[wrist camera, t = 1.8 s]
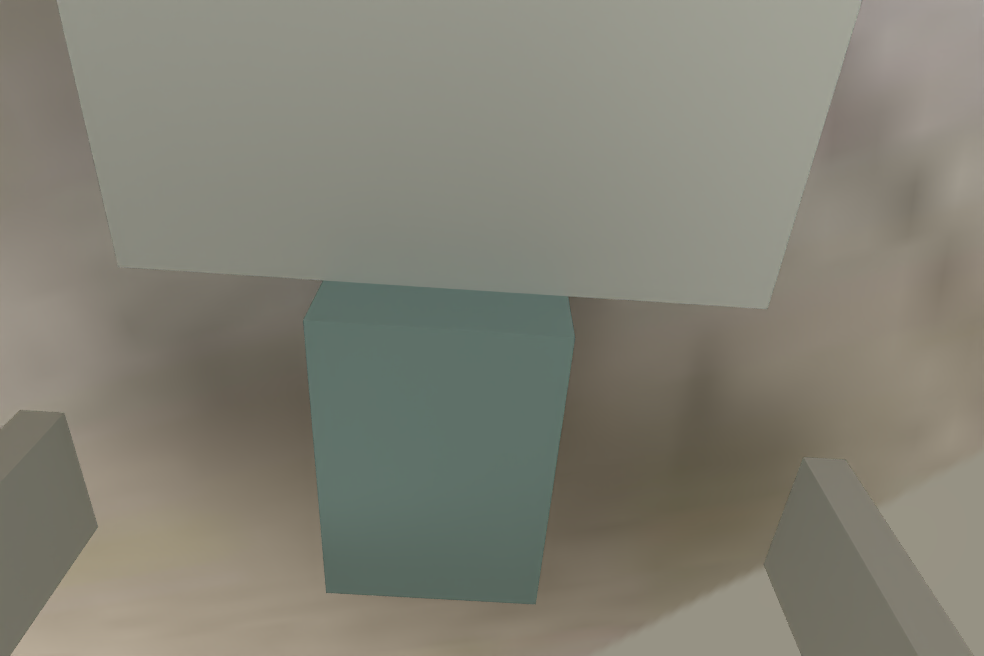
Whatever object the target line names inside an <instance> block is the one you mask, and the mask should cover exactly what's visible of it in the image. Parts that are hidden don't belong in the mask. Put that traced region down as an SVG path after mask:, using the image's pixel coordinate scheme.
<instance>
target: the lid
mask: <svg viewBox="0 0 984 656" xmlns="http://www.w3.org/2000/svg"><path fill="white" fill-rule="evenodd" d="M56 1H57V5H58V10H59V14H60V18H61V23H62V27H63V31H64V35H65V40H66V44H67V48H68V53H69V57H70V61H71V66H72V70H73V74H74V79H75V83H76V87H77V92H78V96H79V100H80V105H81V109H82V113H83V118H84V122H85V126H86V130H87V135H88V139H89V143H90V148H91V152H92V156H93V161H94V165H95V169H96V174H97V178H98V182H99V187H100V191H101V195H102V200H103V204H104V208H105V213H106V217H107V221H108V226H109V230H110V234H111V238H112V243H113V247H114V251H115V256H116V260H117V264H118V267H122V268H138V269H153V270H169V271H184V272H200V273H215V274H231V275H246V276H261V277H277V278H292V279H308V280H323V282H322V284H321V286H320V288H319V290H318V292H317V294H316V296H315V298H314V300H313V302H312V304H311V306H310V308H309V310H308V312H307V314H306V316H305V318H304V320H303V325H304V337H305V348H306V360H307V372H308V384H309V395H310V407H311V419H312V431H313V443H314V454H315V466H316V478H317V490H318V502H319V513H320V525H321V537H322V549H323V560H324V572H325V584H326V593H340V594H358V595H376V596H394V597H412V598H430V599H448V600H466V601H484V602H502V603H520V604H536V598H537V591H538V585H539V578H540V571H541V564H542V558H543V551H544V544H545V537H546V531H547V524H548V517H549V510H550V504H551V497H552V490H553V484H554V477H555V470H556V463H557V457H558V450H559V443H560V436H561V430H562V423H563V416H564V409H565V403H566V396H567V389H568V382H569V376H570V369H571V362H572V355H573V349H574V342H575V334H574V328H573V322H572V316H571V311H570V305H569V299H568V296H570V297H586V298H601V299H617V300H632V301H648V302H663V303H679V304H694V305H709V306H725V307H740V308H756V309H768V306H769V303H770V299H771V296H772V293H773V290H774V286H775V283H776V280H777V277H778V273H779V270H780V267H781V264H782V260H783V257H784V254H785V251H786V247H787V244H788V241H789V237H790V234H791V231H792V228H793V224H794V221H795V218H796V215H797V211H798V208H799V205H800V202H801V198H802V195H803V192H804V189H805V185H806V182H807V179H808V176H809V172H810V169H811V166H812V162H813V159H814V156H815V153H816V149H817V146H818V143H819V140H820V136H821V133H822V130H823V127H824V123H825V120H826V117H827V114H828V110H829V107H830V104H831V101H832V97H833V94H834V91H835V87H836V84H837V81H838V78H839V74H840V71H841V68H842V65H843V61H844V58H845V55H846V52H847V48H848V45H849V42H850V39H851V35H852V32H853V29H854V26H855V22H856V19H857V16H858V12H859V9H860V6H861V3H862V0H56Z"/></svg>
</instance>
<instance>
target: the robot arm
mask: <svg viewBox="0 0 984 656" xmlns="http://www.w3.org/2000/svg"><path fill="white" fill-rule="evenodd" d="M97 528H98V525H97V522H96V518H95V515H94V512H93V508H92V505H91V501H90V498H89V495H88V491H87V488H86V485H85V481H84V478H83V474H82V471H81V468H80V464H79V461H78V458H77V454H76V451H75V447H74V444H73V441H72V437H71V434H70V431H69V427H68V424H67V420H66V417H65V414H64V413H59V412H43V411H26V410H20V411H19V412H18V413H17V414H16V415H15V416H14V417H13V418H12V419H11V420H10V421H9V422H8V423H7V424H5V425H4V426H3V427H2V428H1V429H0V656H10V655H11V654H12V652H13V651H14V649H15V648H16V646H17V645H18V643H19V642H20V640H21V639H22V637H23V636H24V635H25V633H26V632H27V630H28V629H29V627H30V626H31V624H32V623H33V621H34V620H35V618H36V617H37V615H38V614H39V613H40V611H41V610H42V608H43V607H44V605H45V604H46V602H47V601H48V599H49V598H50V596H51V595H52V594H53V592H54V591H55V589H56V588H57V586H58V585H59V583H60V582H61V580H62V579H63V577H64V576H65V574H66V573H67V572H68V570H69V569H70V567H71V566H72V564H73V563H74V561H75V560H76V558H77V557H78V555H79V554H80V553H81V551H82V550H83V548H84V547H85V545H86V544H87V542H88V541H89V539H90V538H91V536H92V535H93V533H94V532H95V531H96V529H97ZM764 567H765V569H766V571H767V574H768V576H769V579H770V581H771V583H772V586H773V588H774V591H775V593H776V595H777V598H778V600H779V603H780V605H781V607H782V610H783V612H784V615H785V617H786V620H787V622H788V624H789V627H790V629H791V631H792V634H793V636H794V639H795V641H796V644H797V646H798V648H799V651H800V653H801V656H974V655H973V653H972V652H971V651H970V649H969V647H968V646H967V644H966V643H965V641H964V640H963V638H962V637H961V635H960V634H959V632H958V631H957V629H956V628H955V626H954V625H953V623H952V621H951V620H950V618H949V617H948V615H947V614H946V612H945V611H944V609H943V608H942V606H941V605H940V603H939V602H938V600H937V599H936V597H935V596H934V594H933V593H932V591H931V589H930V588H929V586H928V585H927V584H926V582H925V580H924V579H923V577H922V576H921V574H920V573H919V571H918V570H917V568H916V567H915V565H914V563H913V562H912V560H911V559H910V557H909V556H908V554H907V553H906V551H905V550H904V548H903V547H902V545H901V544H900V542H899V541H898V539H897V538H896V536H895V535H894V533H893V532H892V530H891V528H890V527H889V525H888V524H887V522H886V521H885V519H884V518H883V516H882V515H881V513H880V512H879V510H878V508H877V507H876V505H875V504H874V502H873V501H872V499H871V498H870V496H869V495H868V493H867V492H866V490H865V489H864V487H863V486H862V484H861V483H860V481H859V479H858V478H857V476H856V475H855V473H854V472H853V470H852V469H851V467H850V466H849V464H848V463H847V461H846V460H844V459H827V458H811V457H803V459H802V462H801V465H800V467H799V470H798V473H797V476H796V478H795V481H794V484H793V486H792V489H791V492H790V495H789V497H788V500H787V503H786V505H785V508H784V511H783V513H782V516H781V519H780V522H779V524H778V527H777V530H776V532H775V535H774V538H773V540H772V543H771V546H770V549H769V551H768V554H767V557H766V559H765V562H764Z"/></svg>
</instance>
